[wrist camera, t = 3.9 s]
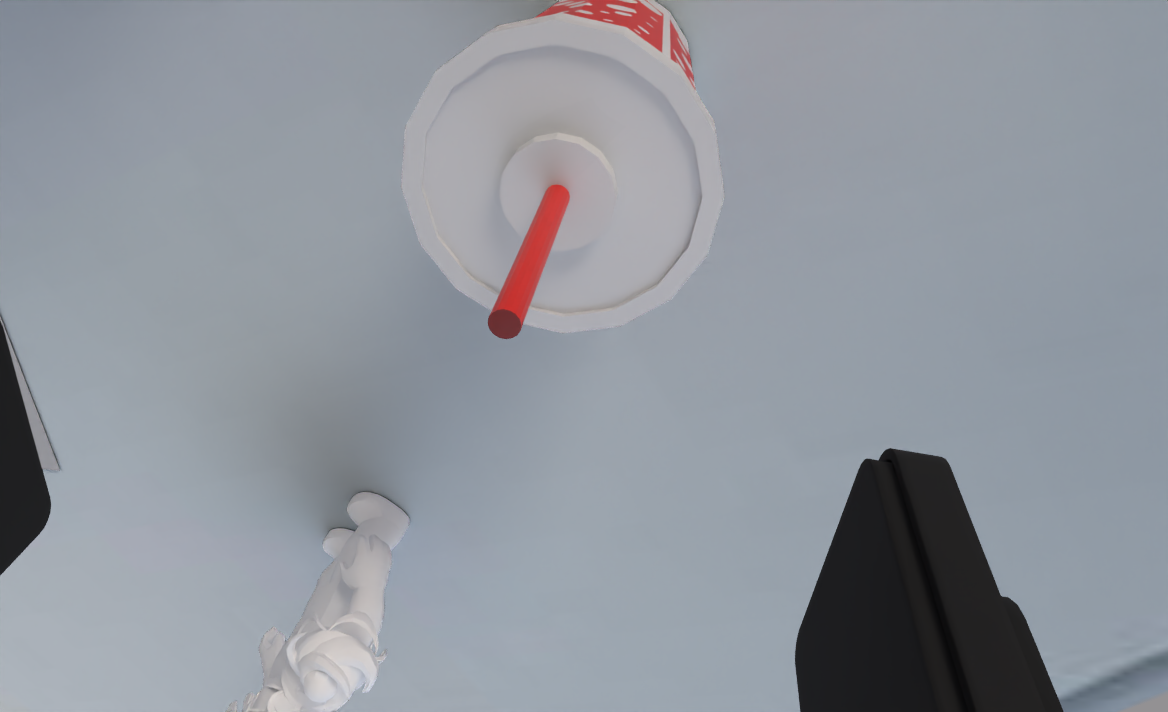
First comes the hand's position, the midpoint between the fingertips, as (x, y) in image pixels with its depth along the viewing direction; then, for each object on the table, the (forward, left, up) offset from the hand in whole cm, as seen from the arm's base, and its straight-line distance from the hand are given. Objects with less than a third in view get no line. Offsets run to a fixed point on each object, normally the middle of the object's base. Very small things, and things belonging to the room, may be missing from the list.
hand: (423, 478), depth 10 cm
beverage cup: (0, 0, -17) cm, 17 cm away
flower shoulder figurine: (+7, +19, -17) cm, 26 cm away
